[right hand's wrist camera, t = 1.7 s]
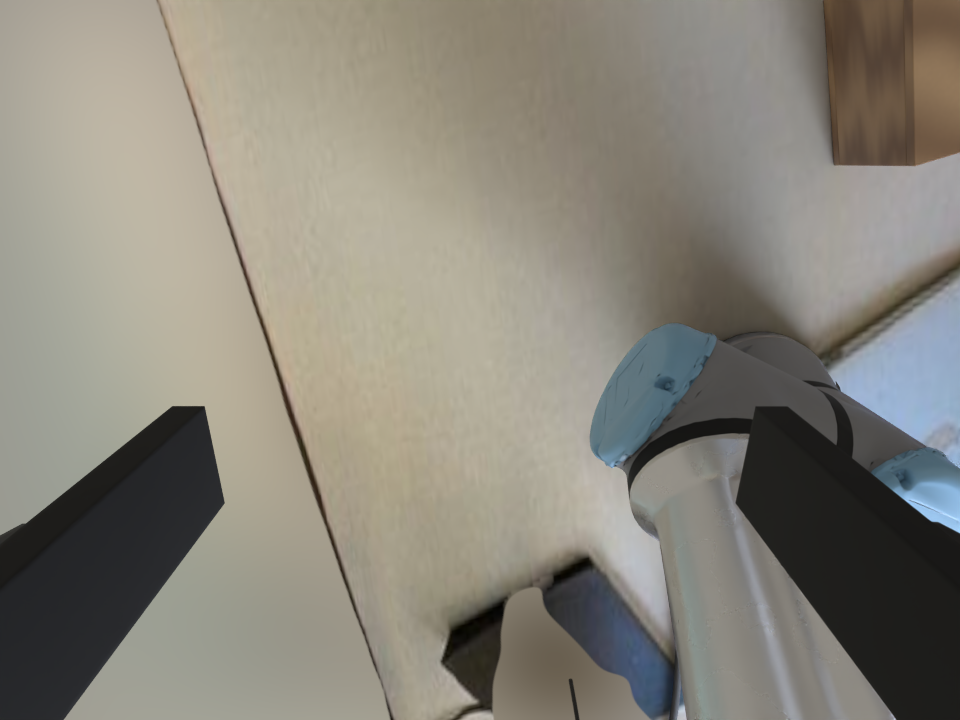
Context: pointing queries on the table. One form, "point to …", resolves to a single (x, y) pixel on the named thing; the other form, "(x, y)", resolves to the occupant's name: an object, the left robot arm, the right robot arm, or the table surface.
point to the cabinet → (893, 80)
